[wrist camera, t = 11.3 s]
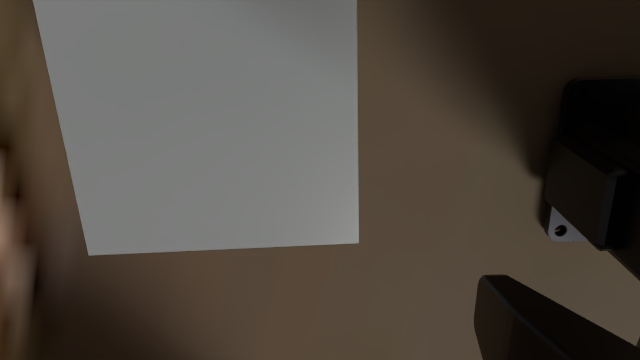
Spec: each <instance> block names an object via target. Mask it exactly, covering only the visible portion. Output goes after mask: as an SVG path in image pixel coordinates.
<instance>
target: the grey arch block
mask: <svg viewBox="0 0 640 360" xmlns="http://www.w3.org/2000/svg"><path fill="white" fill-rule="evenodd" d="M33 3H34V8H35V13H36V17H37V22H38V26H39V31H40V35H41V40H42V45H43V49H44V54H45V58H46V63H47V67H48V72H49V76H50V81H51V86H52V90H53V95H54V99H55V104H56V108H57V113H58V118H59V122H60V127H61V131H62V136H63V140H64V145H65V150H66V154H67V159H68V163H69V168H70V172H71V177H72V182H73V186H74V191H75V195H76V200H77V204H78V209H79V213H80V218H81V223H82V227H83V232H84V236H85V241H86V245H87V250H88V255H109V254H131V253H153V252H175V251H196V250H218V249H240V248H261V247H283V246H305V245H327V244H348V243H359V210H358V79H357V0H33Z"/></svg>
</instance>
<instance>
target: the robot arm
mask: <svg viewBox="0 0 640 360" xmlns="http://www.w3.org/2000/svg"><path fill="white" fill-rule="evenodd" d="M581 87H583V88H584V92H583V95H582V96H581V97H579V98H575V93H576V91H577V90H578V89H579V88H581ZM544 198H545V200H546V201H547V202H548V203H547V210H546V217H545V224H544V231H545V233H546V234H547V235H548V236H549V238H550V239H552V240H553V241H556V242H569V241H589V242H590V243H591V244H592V245H593V246H594V247H595V248H596V249H597V250H599V251H608V252H609V253H610V254H611V255H612V256H613V257H615V258H616V259H617V260H618V261H619V262H620V263H621V264H622V265H623V266H624V267H625V268H626V269H627V270H629V271H630V272H631V273H632V274H633V275H634V276H635V277H636V278H637V279H638V280H639V281H640V76H620V77H589V78H576V79H573V80H571V81H570V82H569V83H568V84H567V85H566V86H565V89H564V92H563V98H562V105H561V112H560V119H559V126H558V133H557V134H556V135H555V136H554V138H553V139H552V142H551V149H550V156H549V164H548V171H547V178H546V185H545V192H544ZM559 225H563V227H562V229H561V230H560V231H557V232H554V231H555V228H556V227H558V226H559ZM474 328H475V333H476V336H477V340H478V344H479V347H480V351H481V354H482V358H483V360H640V338H639V340H638V342H637V345H636V346H634V345H633V344H631V343H629V342H627V341H625V340H624V339H622V338H620V337H618V336H616V335H614V334H613V333H611V332H609V331H607V330H605V329H604V328H602V327H600V326H598V325H596V324H594V323H593V322H591V321H589V320H587V319H585V318H584V317H582V316H580V315H578V314H576V313H574V312H573V311H571V310H569V309H567V308H565V307H564V306H562V305H560V304H558V303H556V302H554V301H553V300H551V299H549V298H547V297H545V296H544V295H542V294H540V293H538V292H536V291H535V290H533V289H531V288H529V287H527V286H525V285H524V284H522V283H520V282H518V281H516V280H515V279H513V278H511V277H509V276H507V275H483V276H482V277H481V278H480V280H479V282H478V288H477V297H476V305H475V313H474Z"/></svg>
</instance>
